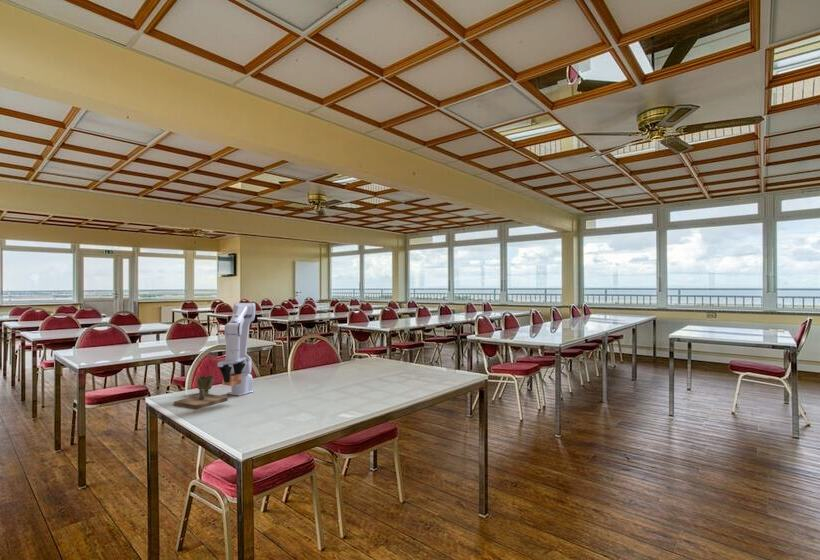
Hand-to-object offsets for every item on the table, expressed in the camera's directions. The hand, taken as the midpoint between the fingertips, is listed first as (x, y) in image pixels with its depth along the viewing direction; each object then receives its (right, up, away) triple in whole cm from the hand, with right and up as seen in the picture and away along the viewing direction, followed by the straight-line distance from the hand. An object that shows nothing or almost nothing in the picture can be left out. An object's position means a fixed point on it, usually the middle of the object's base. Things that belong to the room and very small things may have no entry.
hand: (231, 380), depth 187 cm
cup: (-20, -10, +16) cm, 27 cm away
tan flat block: (-13, -10, 0) cm, 16 cm away
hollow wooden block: (0, -1, 0) cm, 1 cm away
